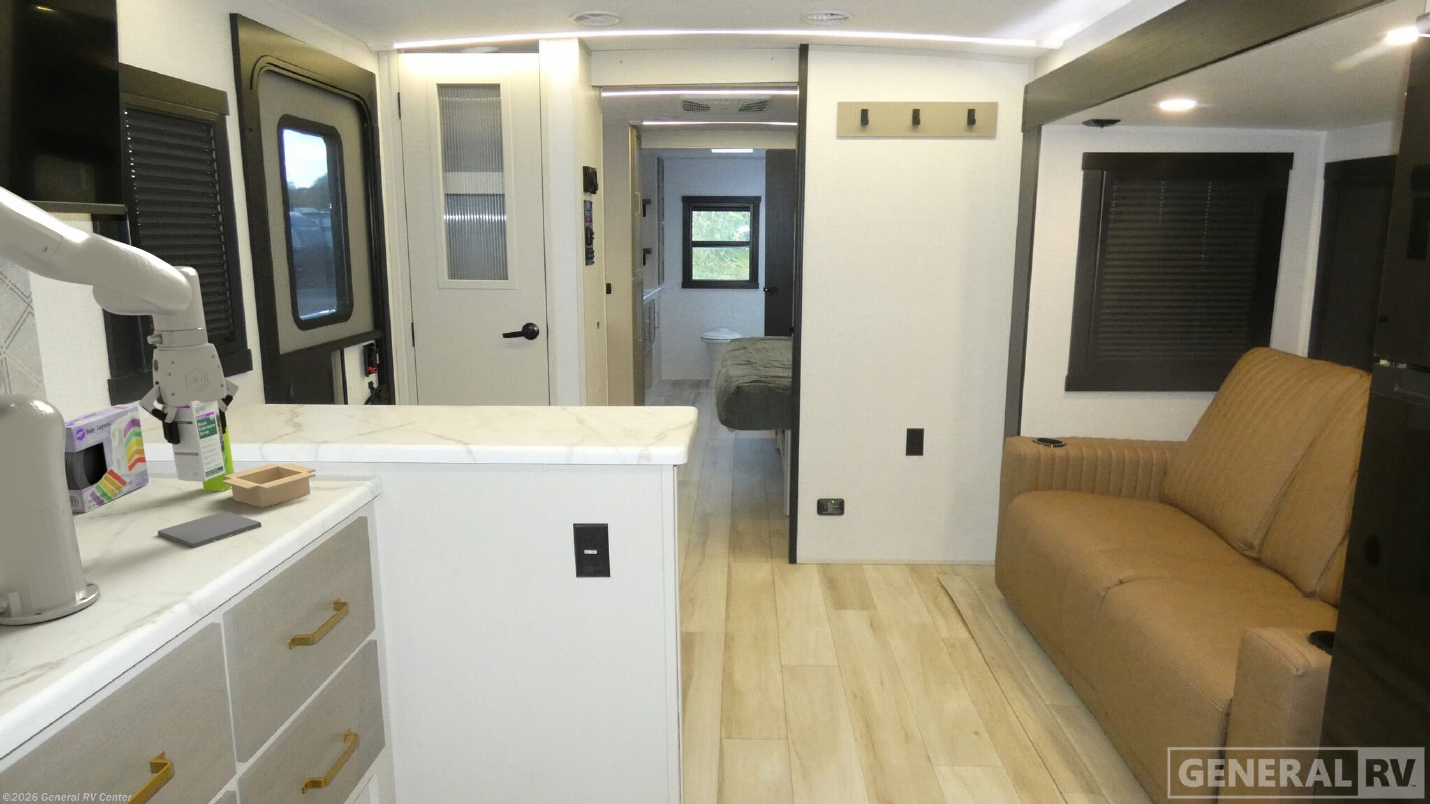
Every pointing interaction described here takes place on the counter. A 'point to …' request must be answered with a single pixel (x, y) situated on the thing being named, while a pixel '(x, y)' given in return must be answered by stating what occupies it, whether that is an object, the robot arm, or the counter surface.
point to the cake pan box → (104, 456)
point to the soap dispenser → (216, 482)
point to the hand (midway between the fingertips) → (197, 437)
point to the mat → (208, 529)
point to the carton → (270, 484)
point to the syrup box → (199, 442)
